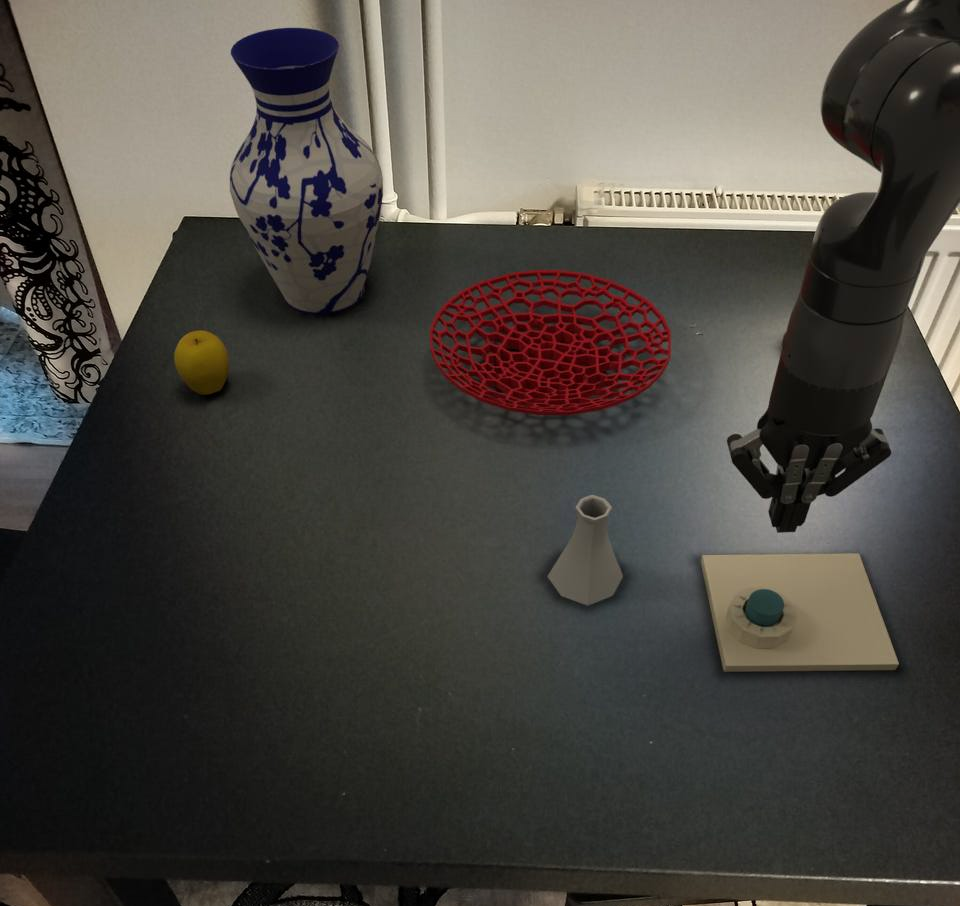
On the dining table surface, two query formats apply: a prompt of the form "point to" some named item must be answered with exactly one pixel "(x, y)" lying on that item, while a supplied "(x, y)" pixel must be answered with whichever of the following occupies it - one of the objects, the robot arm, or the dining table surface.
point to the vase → (304, 174)
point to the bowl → (550, 347)
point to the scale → (798, 613)
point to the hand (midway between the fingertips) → (784, 525)
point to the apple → (202, 362)
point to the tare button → (764, 607)
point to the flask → (588, 557)
